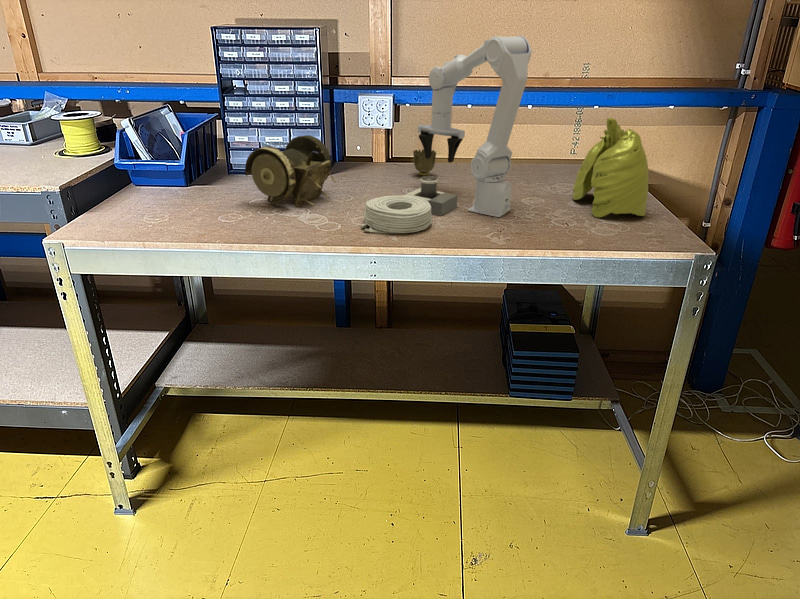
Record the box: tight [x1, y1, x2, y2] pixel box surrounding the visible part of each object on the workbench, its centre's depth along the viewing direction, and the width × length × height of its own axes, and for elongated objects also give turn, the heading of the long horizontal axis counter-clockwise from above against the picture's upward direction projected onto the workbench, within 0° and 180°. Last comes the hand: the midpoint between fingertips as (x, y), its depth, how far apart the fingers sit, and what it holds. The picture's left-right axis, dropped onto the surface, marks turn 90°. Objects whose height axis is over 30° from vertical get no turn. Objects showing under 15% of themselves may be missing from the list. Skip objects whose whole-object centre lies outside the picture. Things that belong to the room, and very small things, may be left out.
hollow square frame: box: [403, 187, 459, 217], centre depth 162 cm, size 12×9×4 cm
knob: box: [420, 175, 439, 199], centre depth 161 cm, size 5×5×7 cm
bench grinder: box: [244, 134, 336, 207], centre depth 162 cm, size 20×22×20 cm
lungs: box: [572, 117, 649, 219], centre depth 161 cm, size 25×16×24 cm, turn 5°
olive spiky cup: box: [413, 148, 437, 178], centre depth 189 cm, size 8×7×8 cm
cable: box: [360, 195, 433, 234], centre depth 149 cm, size 18×18×6 cm
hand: (439, 159), depth 172 cm, fingers open, 7 cm apart
